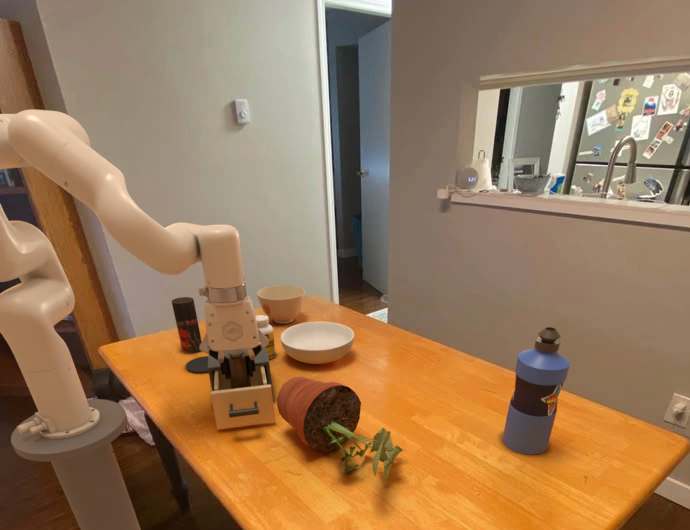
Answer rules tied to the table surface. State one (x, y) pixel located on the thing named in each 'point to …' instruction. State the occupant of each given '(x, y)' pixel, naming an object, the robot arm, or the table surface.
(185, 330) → the deodorant
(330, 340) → the serving bowl
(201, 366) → the mat
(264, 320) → the pill bottle
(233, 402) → the drawer
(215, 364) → the cabinet
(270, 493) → the table surface
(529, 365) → the water bottle
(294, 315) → the bowl
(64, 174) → the robot arm
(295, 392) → the potted plant
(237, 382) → the pepper mill
